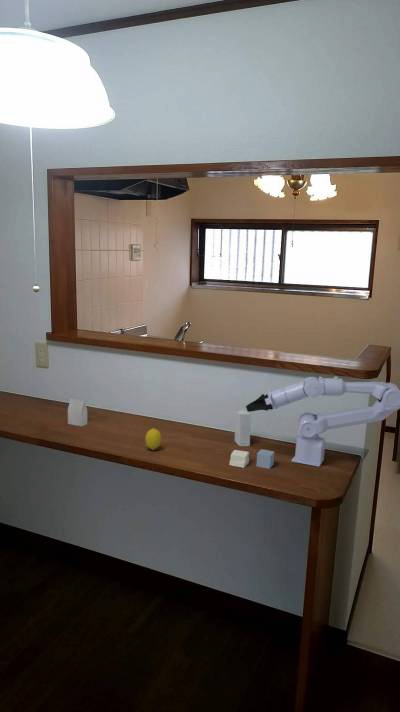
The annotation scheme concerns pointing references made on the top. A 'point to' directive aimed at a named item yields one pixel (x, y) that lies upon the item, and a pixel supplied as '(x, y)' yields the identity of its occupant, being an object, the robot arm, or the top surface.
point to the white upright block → (77, 412)
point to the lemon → (153, 438)
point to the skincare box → (242, 427)
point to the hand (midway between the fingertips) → (248, 408)
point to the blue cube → (265, 458)
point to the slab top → (239, 456)
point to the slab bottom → (239, 463)
